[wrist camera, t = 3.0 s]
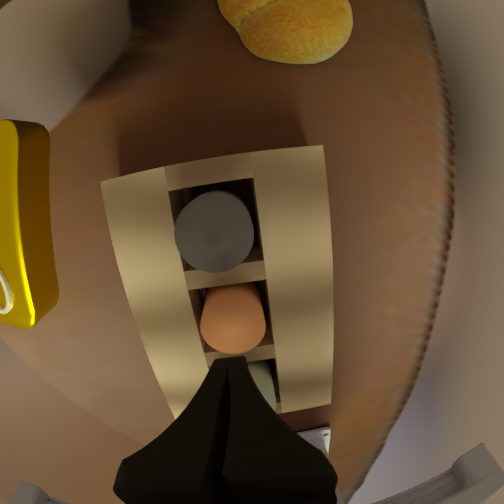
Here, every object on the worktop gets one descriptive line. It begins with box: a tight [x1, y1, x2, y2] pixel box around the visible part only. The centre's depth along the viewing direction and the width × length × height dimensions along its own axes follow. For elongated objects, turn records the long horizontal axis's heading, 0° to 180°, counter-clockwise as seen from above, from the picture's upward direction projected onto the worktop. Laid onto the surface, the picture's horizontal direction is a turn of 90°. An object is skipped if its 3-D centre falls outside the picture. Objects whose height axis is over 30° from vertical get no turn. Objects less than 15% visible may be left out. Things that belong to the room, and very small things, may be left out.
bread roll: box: [217, 0, 353, 64], centre depth 12 cm, size 8×9×4 cm
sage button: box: [247, 360, 276, 411], centre depth 18 cm, size 4×4×4 cm
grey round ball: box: [174, 189, 254, 273], centre depth 14 cm, size 4×4×4 cm
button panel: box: [100, 145, 334, 419], centre depth 18 cm, size 18×12×3 cm, turn 8°
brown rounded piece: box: [200, 281, 266, 354], centre depth 17 cm, size 4×4×4 cm
